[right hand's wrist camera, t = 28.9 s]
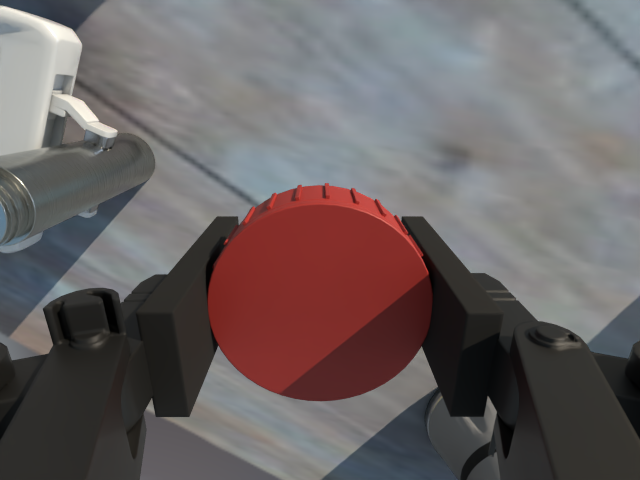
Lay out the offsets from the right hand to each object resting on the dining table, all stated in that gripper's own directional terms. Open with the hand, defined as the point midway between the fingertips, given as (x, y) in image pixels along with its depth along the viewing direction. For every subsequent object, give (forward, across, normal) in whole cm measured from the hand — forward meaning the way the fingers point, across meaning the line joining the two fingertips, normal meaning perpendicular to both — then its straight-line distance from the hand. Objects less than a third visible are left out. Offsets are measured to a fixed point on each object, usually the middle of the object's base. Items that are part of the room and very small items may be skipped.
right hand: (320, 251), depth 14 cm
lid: (-4, 0, 0) cm, 4 cm away
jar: (+27, +20, +1) cm, 33 cm away
